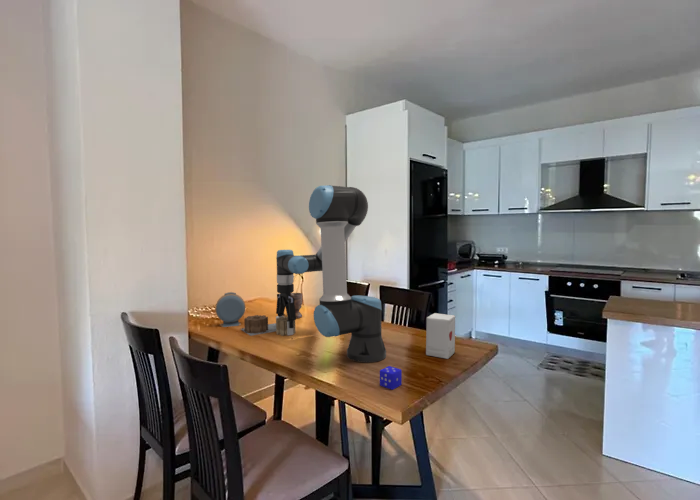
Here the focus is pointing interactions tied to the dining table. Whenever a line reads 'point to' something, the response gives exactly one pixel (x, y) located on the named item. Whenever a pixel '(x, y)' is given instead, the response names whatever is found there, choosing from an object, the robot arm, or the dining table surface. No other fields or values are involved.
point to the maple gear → (283, 326)
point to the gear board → (270, 329)
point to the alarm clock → (230, 309)
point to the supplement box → (440, 335)
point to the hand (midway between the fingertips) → (285, 332)
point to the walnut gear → (256, 324)
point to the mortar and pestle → (297, 303)
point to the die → (390, 377)
